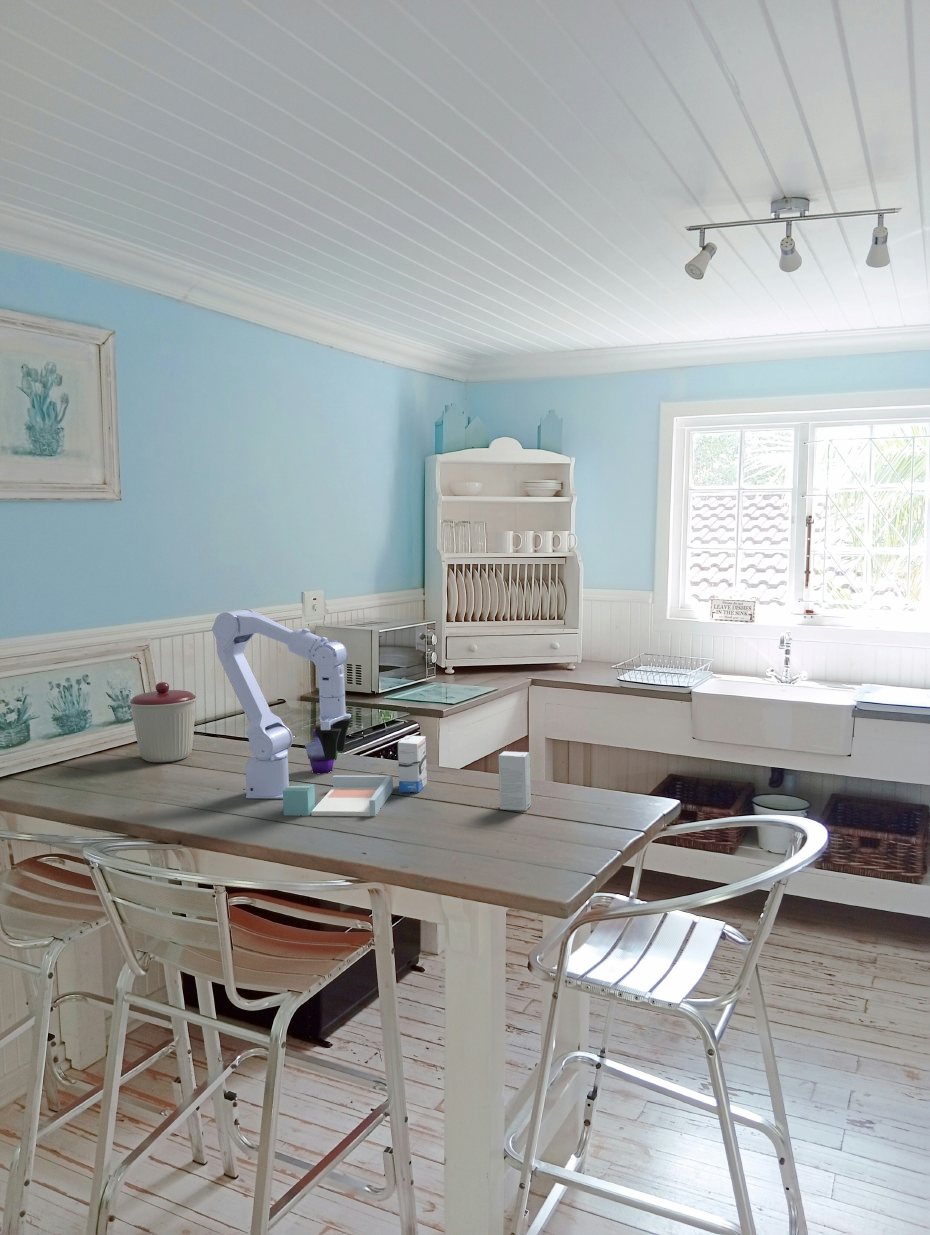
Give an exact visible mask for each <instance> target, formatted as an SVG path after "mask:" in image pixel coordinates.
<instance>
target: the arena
mask: <svg viewBox="0 0 930 1235" xmlns="http://www.w3.org/2000/svg"><path fill="white" fill-rule="evenodd" d="M393 782H394V779H393V775H342V774H341V775H334V774H333V776H332V788H331V789H330V790H329V791H328V792H327V793H326V795H324V797H322V799H321V800H320V801H319V802H318V803H317V804H316V805H315V808H314V809H313V810H312V811H311V817H313V816H314V817H315V816H316V817H319V816H320V817H376V816H377V815H376V814H379V812H380V811H381V809H382V808H383V806H384V804H385V803H386V801H387V800H388V799H389V797H390V796H391V794H392V793H393V791H394V783H393ZM380 808H381V809H380Z"/></svg>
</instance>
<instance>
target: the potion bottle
mask: <svg viewBox="0 0 930 1235" xmlns="http://www.w3.org/2000/svg"><path fill="white" fill-rule="evenodd" d="M318 727H321V723H319V724H315V725H314V726H313V728H314V729H311V730H312V731H311V732H312V734H311V735H312V737H315V738H314V739H315V740H314V741H312V742H309V743H308V742H307V743H305V744H304V745H305V750H306V755H307V758H308V760H309V762H310V763H309V764H310V768H311V772H312V771H313V773H312V774H316V775H318V774H317V773H320V774H319V775H324V774H323V773H327V774H329V773H328V772H330V771H333V768H334V763H335V762H334V761H336V760H337V759H338V754H339V753H338V752H339V751H337V752H336V758H335V759H325V756H324V752H323V748H322V745H321V742H320V740H319V738H318V736H317V735H316V733H315V729H316V728H318ZM333 772H334V771H333ZM330 773H331V772H330Z"/></svg>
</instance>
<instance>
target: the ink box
mask: <svg viewBox="0 0 930 1235" xmlns="http://www.w3.org/2000/svg"><path fill="white" fill-rule="evenodd" d="M426 738H427V737H426V735H425V736H424V735H405V736H404V737H403V738H402V739H400V740H398V742H397V760H398V792H399V793H410V792H414V794H415V792H416V794H417V793H418V792H419V791H420V792H421V791H422V790H423V788H425V786H427V784H428V779H427V778H428V777H427V775H428V774H427V773H428V772H427V748H426V747H427V744H426V741H427V739H426ZM420 792H419V793H420Z"/></svg>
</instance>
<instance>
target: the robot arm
mask: <svg viewBox="0 0 930 1235" xmlns="http://www.w3.org/2000/svg"><path fill="white" fill-rule="evenodd" d="M211 631H212V633H213V636H214V637H215V639H216V640H215V641H216V643H215V644H216V654H217V657H218V659H219V661H220V664H221V666H222V667H223V669H224V672H225V673H226V676H227V678H228V680H229V682H230V685H231V686H232V689H233V691H234V693H235V695H236V697H237V699H238V701H239V703H240V705H241V708H242V709H243V712H244V714H245V716H246V718H247V720H248V722H249V724H248V727H247V730H246V735H247V738H248V745H249V750H250V752H251V754H252V755H253V756H251V757H248V759H247V760H246V763H245V764H246V765H245V784H246V785H245V786H246V789H245V790H246V796H245V799H281V800H283V790H284V789H285V788H286V787H287V786H289V785H290V781H289V780H290V777H289V775H290V774H289V755H288V754H289V750H290V748H291V747H292V745H293V740H294V738H293V737H294V736H293V733H292V731H291V729H290V728H289V727H288V726H286V725H285V724H284V722H283V721H282V718H280V716H278V715H276V714H275V713H273V712H272V710H271V709H270V706H269V704H268V702H267V700H266V698H265V696H264V694H263V692H262V690H261V688H260V686H259V683H258V682H257V679H256V677H255V675H254V674H253V671H252V669H251V666H250V665H249V662H248V660H247V658H246V656H245V653H244V652H245V650H246V646H247V644H248V643H249V642H250V640H251V639H252V637H253V636H254V635H255V634H259V635H261V636H265V637H267V638H270V639H272V640H275V641H277V642H280V643H283V644H285V645H287V648H288V650H289V652H291V653H293V654H295V655H297V656H299V657H302V658H304V659H306V660H308V661H310V662H313V664H314V666H315V667H316V669H317V675H318V692H319V715H318V717H319V721H320V722H319V724H321V727H318V728H316V729H315V733H316V735H317V736H318V738H319V740H320V742H321V745H322V748H323V752H324V756H325V759H335V758H336V752H344V749H345V744H346V738H347V734H348V731H349V730H348V729H349V726H350V724H351V723H352V718H351V717H352V714H351V713H347V712H346V708H347V707H346V687H345V668H344V667H345V665H344V664H345V663H346V662H347V660H348V656H349V654H348V651H349V650H348V649H347V647H346V646H345V644H343V643H342V642H340V641H339V640H331V641H329V640H328V637H325V636H322V637H321V636H318V635H316V634H314V633H312V632H311V630H310V629H309V628H306V627H304V628H298V629H296V630H292V629H290V628H288V627H286V626H284V625H282V624H280V623H278V622H276V621H274V620H272V619H271V618H269V617H267V616H264V615H263V613H260V612H257V611H254V610H253V609H250V608H242V609H241V610H240V609H239V610H234V611H223V612H221V613H219V614H218V615H217V616H216V617H215V620H214V622H213V625H212V628H211Z"/></svg>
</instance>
